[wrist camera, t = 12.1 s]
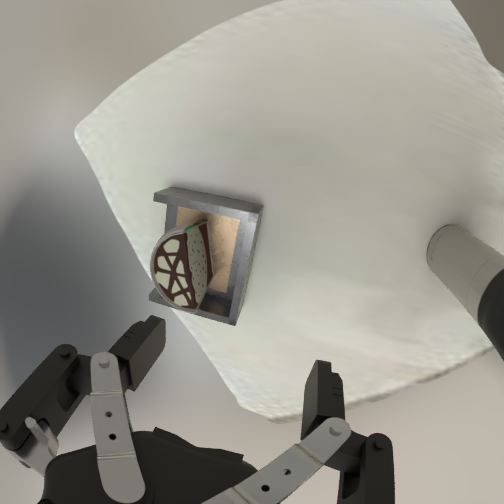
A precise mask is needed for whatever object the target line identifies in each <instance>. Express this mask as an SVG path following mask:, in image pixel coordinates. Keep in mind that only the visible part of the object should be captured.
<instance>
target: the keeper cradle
mask: <svg viewBox="0 0 504 504" xmlns="http://www.w3.org/2000/svg"><path fill="white" fill-rule="evenodd" d="M153 201H156V202H161V203H165V204H167V212H166V222H165V233H166V232H167V231H169V230H171V229H172V228H174V227H177V226H181V225H188V226H187V227H189V226H191V225H193V224H196V223H198V222H200V221H207V220H208V227H209V236H210V245H211V254H212V262H213V270H214V277H213V279H212V281H211V283H210V285H209V287H208V289H207V291H206V293H205V295H204V297H203V299H202V301H201V303H200V305H199V307H198V308H200V310H199V311H198V312H197V313H195V315H198V316H201V317H205V318H208V319H212V320H216V321H219V322H223V323H227V324H230V325H234V326H235V325H236V323H237V320H238V317H239V314H240V312H241V309H242V306H243V301H244V296H245V292H246V287H247V282H248V278H249V273H250V268H251V263H252V259H253V254H254V249H255V244H256V240H257V235H258V230H259V225H260V221H261V216H262V211H263V205H259V204H254V203H250V202H245V201H241V200H236V199H231V198H226V197H222V196H217V195H212V194H207V193H202V192H197V191H192V190H186V189H181V188H176V187H170V188H167V189H164V190H161V191H158V192H155V193H154V200H153ZM187 227H186V228H187ZM149 300H150V301H153V302H156V303H159V304H162V305H165V306H168V307H172V308H175V309H177V308H176V307H174V306H172V305H171V304H170V303H168V302H167V301H166V300H165V299H164V298H163V297H162V296H161V295H160V293H159V292H158V290H157V289H156V287H155V288H154V290H152V292H151V293H150V294H149ZM178 310H180V309H178ZM181 311H182V310H181ZM191 314H194V313H191Z"/></svg>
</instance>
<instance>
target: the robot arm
mask: <svg viewBox="0 0 504 504" xmlns="http://www.w3.org/2000/svg"><path fill="white" fill-rule="evenodd" d="M427 261H428V264H429V267H430V268H431V270H432V271H433V272H434V273H435V274H436V275H437V276H438V277H439V279H440V280H441V281H442V282H443V283H444V284H445V285H446V286H447V288H448V289H449V290H450V291H451V292H452V293H453V294H454V296H455V297H456V298H457V299H458V300H459V301H460V303H461V304H462V305H463V306H464V307H465V309H466V310H467V311H468V312H469V314H470V315H471V316H472V317H473V318H474V320H475V321H476V322H477V323H478V325H479V326H480V327H481V328H482V330H483V331H484V332H485V334H486V335H487V337H488V338H489V339H490V341H491V342H492V344H493V345H494V347H495V348H496V349H497V351H498V352H499V354H500V356H501V358H502V359H503V361H504V256H503V255H502V254H500V253H499V252H498V251H496V250H495V249H493V248H492V247H490V246H489V245H487V244H486V243H484V242H483V241H481V240H480V239H478V238H476V237H475V236H473V235H472V234H470V233H469V232H467V231H465V230H464V229H462V228H460V227H458V226H456V225H448V226H445V227H443V228H441V229H440V230H438V231H437V232H436V234H435V235H434V236H433V238H432V239H431V241H430V244H429V247H428V251H427ZM165 333H166V331H165V320H164V319H162V318H159V317H156V316H153V315H151V316H150V317H149V318H148V319H147V320H146V321H145V322H143V321H139V322H137V323H135V324H133V325H132V326H131V327H130V328H129V329H128V330H127V331H126V332H125V333H124V334H123V336H122V337H121V338H120V339H119V340H118V341H117V342H116V343H115V344H114V345H113V346H112V348H111V349H110V350H109V351H108V352H100V353H97V354H95V355H94V356H93V357H90V356H85V355H80V354H78V352H77V350H76V348H75V347H74V346H72V345H70V344H62V345H60V346H58V347H57V348H55V349H54V350H53V351H52V352H51V354H50V355H49V356H48V357H47V358H46V359H45V360H44V361H43V362H42V363H41V364H40V365H39V366H38V367H37V368H36V370H35V371H34V372H33V373H32V374H31V375H30V376H29V377H28V378H27V379H26V380H25V382H24V383H23V384H22V385H21V386H20V387H19V388H18V390H17V391H16V392H15V393H14V394H13V395H12V397H11V398H10V399H9V400H8V401H7V403H6V404H5V405H4V406H3V407H2V408H1V410H0V442H1V444H2V445H3V446H4V448H5V449H6V450H7V451H9V453H10V454H11V455H12V456H13V457H14V458H16V459H17V460H19V462H21V463H22V464H23V465H24V466H26V467H28V468H32V469H34V470H35V471H37V472H38V473H39V474H41V475H42V476H43V477H44V478H45V479H44V480H45V481H44V490H43V495H42V498H41V500H40V501H39V502H38V503H37V504H280V503H281V502H282V501H283V500H284V499H286V498H287V497H288V496H290V495H291V494H292V493H293V492H294V491H295V490H297V489H298V488H299V487H300V486H301V485H302V484H303V483H304V482H306V481H307V480H308V479H309V478H310V477H311V476H312V475H314V474H315V473H316V472H317V471H318V470H319V469H320V468H321V467H322V466H323V465H325V466H328V467H331V468H333V469H336V470H339V471H340V480H339V490H338V499H337V504H395V485H394V484H395V482H394V464H393V463H394V462H393V447H392V442H391V440H390V439H389V438H388V437H387V436H386V435H384V434H380V433H374V434H371V435H370V436H369V437H366V436H363V435H361V434H358V433H355V432H354V431H352V430H351V428H350V426H349V424H348V423H347V422H346V421H345V409H344V397H343V395H344V394H343V382H342V379H341V378H340V376H339V374H338V373H333V372H332V370H331V362H327V361H322V360H316V361H315V363H314V365H313V368H312V370H311V372H310V374H309V377H308V379H307V381H306V385H305V391H304V405H303V418H302V430H301V440H302V441H301V442H300V443H299V444H295V445H293V446H292V447H290V448H289V449H288V450H286V451H285V452H284V453H283V454H281V455H280V456H279V457H277V458H276V459H275V460H273V461H272V462H271V463H269V464H268V465H266V466H265V467H263V468H262V469H261V470H259V471H258V470H257V469H256V468H254V467H253V466H252V465H251V464H249V463H247V462H245V461H243V460H242V459H243V456H244V455H242V454H238V453H234V452H230V451H226V450H223V449H213V448H200V447H196V446H194V445H192V444H190V443H189V442H187V441H185V440H184V439H182V438H180V437H179V436H177V435H175V434H172V433H170V432H168V431H165V430H162V429H159V428H157V427H155V429H154V431H153V432H151V431H136V432H133V429H132V425H131V421H130V417H129V412H128V408H127V403H126V398H125V392H126V390H127V389H130V390H132V391H135V390H136V389H137V387H138V386H139V384H140V383H141V382H142V380H143V379H144V377H145V376H146V374H147V373H148V371H149V370H150V368H151V367H152V365H153V364H154V363H155V361H156V360H157V358H158V357H159V355H160V354H161V352H162V351H163V349H164V347H165V342H166V337H165V335H166V334H165ZM85 395H90V402H91V412H92V421H93V429H94V435H95V442H96V445H92V446H89V447H86V448H82V449H79V450H76V451H72V452H68V453H65V454H61V455H58V456H56V454H57V450H58V447H59V443H58V439H57V436H58V434H59V433H60V431H61V430H62V429H63V427H64V426H65V424H66V423H67V421H68V420H69V418H70V417H71V415H72V414H73V413H74V411H75V410H76V408H77V407H78V405H79V404H80V402H81V401H82V400H83V398H84V397H85Z"/></svg>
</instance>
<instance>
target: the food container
mask: <svg viewBox="0 0 504 504" xmlns="http://www.w3.org/2000/svg"><path fill="white" fill-rule="evenodd" d="M187 226H188V225H181V226H177V227H174V228H172V229H171V230H169V231H167V232H166V233H165V234H164V235H163V236H162V237H161V238H160V239H159V241H158V242H157V244H156V246H155V247H154V249H153V252H152V255H151V261H150V272H151V277H152V281H153V283H154V285H155V287H156V289H157V290H158V292H159V293H160V295H161V296H162V297H163V298H164V299H165V300H166V301H167V302H168V303H170V304H171V305H172V306H174V307H176V308H177V309H180V310H182V311H185V312H188V313H194V314H195V313H197V312H198V311H199V310H200V308H198V307H199V305H200V303H201V301H202V299H203V297H204V295H205V293H206V291H207V289H208V287H209V285H210V283H211V281H212V279H213V277H214V270H213V262H212V254H211V245H210V236H209V227H208V220H207V221H200V222H198V223H196V224H193V225H191V226H189V227H187ZM186 227H187V228H186Z"/></svg>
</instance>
